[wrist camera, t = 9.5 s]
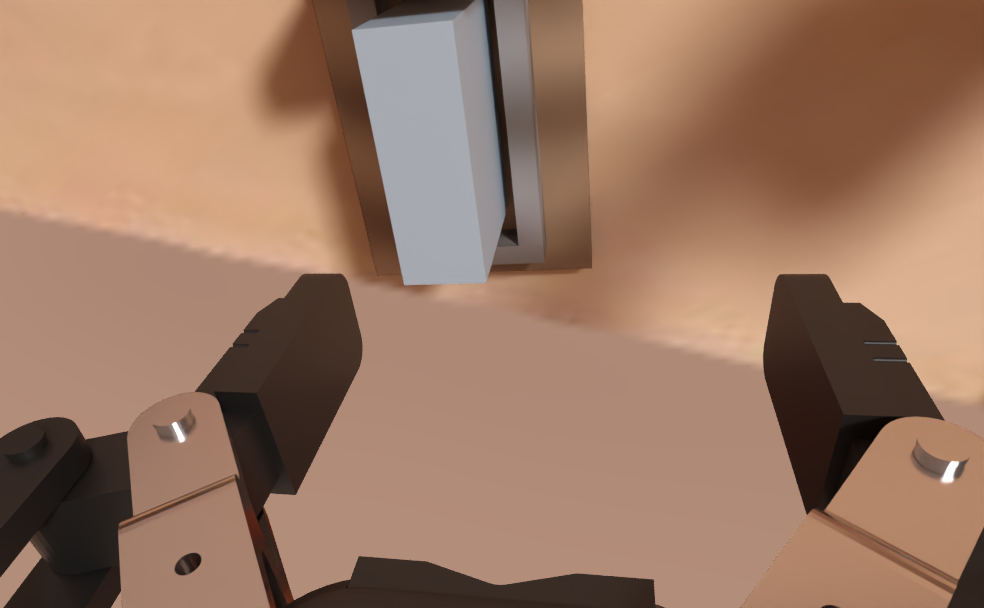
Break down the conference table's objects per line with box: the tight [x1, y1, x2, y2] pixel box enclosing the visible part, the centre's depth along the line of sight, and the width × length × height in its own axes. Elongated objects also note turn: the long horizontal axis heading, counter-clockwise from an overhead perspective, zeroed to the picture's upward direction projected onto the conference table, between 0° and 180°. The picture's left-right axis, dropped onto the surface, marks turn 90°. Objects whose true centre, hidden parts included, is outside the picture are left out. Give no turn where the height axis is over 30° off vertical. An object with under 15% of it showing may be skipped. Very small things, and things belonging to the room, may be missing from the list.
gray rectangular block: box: [352, 0, 508, 285], centre depth 27 cm, size 10×4×8 cm, turn 6°
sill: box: [312, 0, 592, 276], centre depth 28 cm, size 18×12×9 cm, turn 7°
